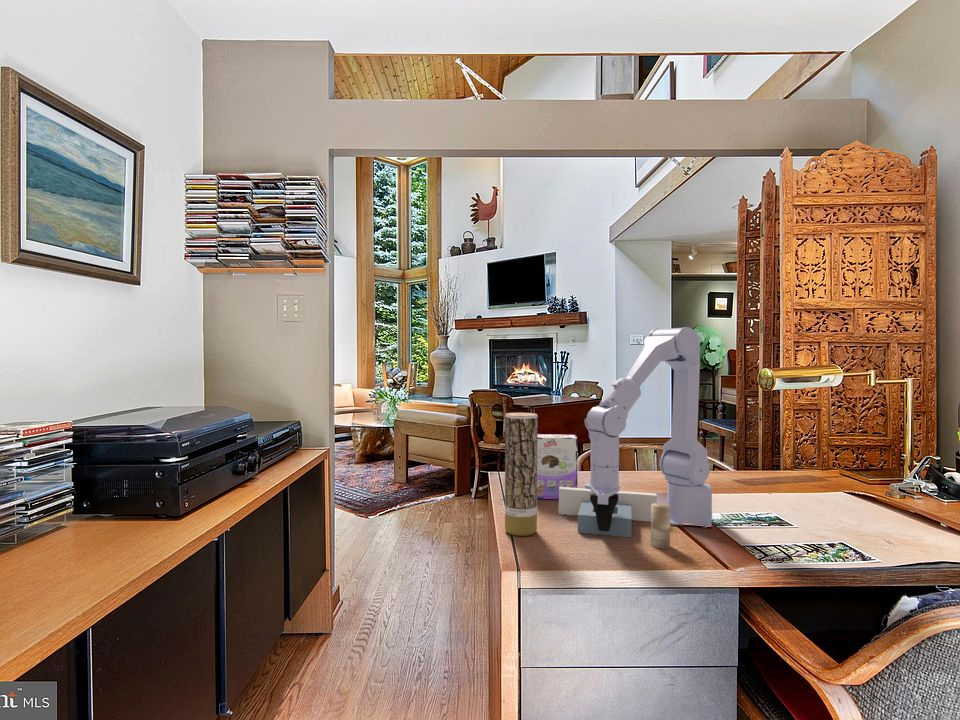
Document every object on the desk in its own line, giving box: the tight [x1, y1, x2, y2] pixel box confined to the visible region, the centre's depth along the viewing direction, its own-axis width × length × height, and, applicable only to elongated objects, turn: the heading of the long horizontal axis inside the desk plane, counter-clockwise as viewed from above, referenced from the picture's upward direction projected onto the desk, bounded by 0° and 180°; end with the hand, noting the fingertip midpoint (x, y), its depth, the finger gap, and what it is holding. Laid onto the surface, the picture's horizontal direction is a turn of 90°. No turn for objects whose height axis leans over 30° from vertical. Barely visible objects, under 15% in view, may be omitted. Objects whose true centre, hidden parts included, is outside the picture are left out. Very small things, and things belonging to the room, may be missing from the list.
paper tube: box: [504, 412, 539, 537], centre depth 115 cm, size 7×7×25 cm
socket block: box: [577, 501, 633, 538], centre depth 119 cm, size 11×11×4 cm
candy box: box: [537, 433, 578, 500], centre depth 143 cm, size 14×6×16 cm, turn 84°
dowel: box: [650, 502, 671, 550], centre depth 107 cm, size 4×4×8 cm
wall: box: [558, 487, 658, 523], centre depth 126 cm, size 22×2×6 cm, turn 75°
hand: (604, 530), depth 112 cm, fingers closed
